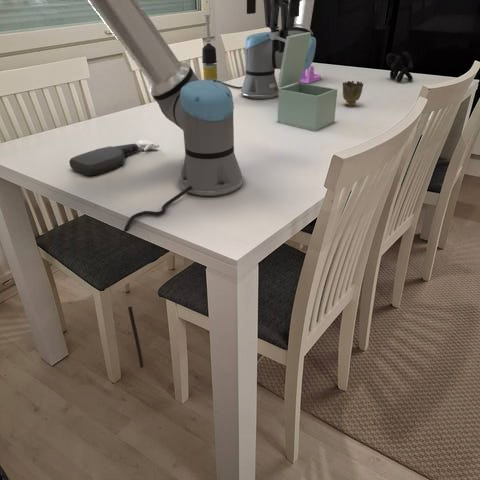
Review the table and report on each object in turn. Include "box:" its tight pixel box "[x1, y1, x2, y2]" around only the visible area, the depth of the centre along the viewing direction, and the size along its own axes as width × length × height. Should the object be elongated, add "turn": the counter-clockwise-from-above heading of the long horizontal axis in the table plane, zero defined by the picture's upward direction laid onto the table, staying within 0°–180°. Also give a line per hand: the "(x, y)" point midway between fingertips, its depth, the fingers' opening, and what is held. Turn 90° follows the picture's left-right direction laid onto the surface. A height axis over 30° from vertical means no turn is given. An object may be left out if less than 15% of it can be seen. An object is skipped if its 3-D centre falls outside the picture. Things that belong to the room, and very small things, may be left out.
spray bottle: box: [68, 139, 160, 177], centre depth 124 cm, size 3×11×24 cm
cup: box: [342, 80, 364, 107], centre depth 165 cm, size 7×7×8 cm
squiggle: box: [385, 51, 414, 83], centre depth 198 cm, size 11×10×15 cm
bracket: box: [299, 65, 322, 84], centre depth 202 cm, size 13×6×7 cm, turn 143°
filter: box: [201, 14, 218, 82], centre depth 171 cm, size 6×6×30 cm
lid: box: [269, 30, 311, 89], centre depth 146 cm, size 16×12×9 cm
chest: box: [277, 82, 338, 132], centre depth 148 cm, size 15×12×11 cm
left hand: (272, 15), depth 111 cm, fingers open, 13 cm apart
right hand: (278, 51), depth 147 cm, fingers closed on lid, 2 cm apart
